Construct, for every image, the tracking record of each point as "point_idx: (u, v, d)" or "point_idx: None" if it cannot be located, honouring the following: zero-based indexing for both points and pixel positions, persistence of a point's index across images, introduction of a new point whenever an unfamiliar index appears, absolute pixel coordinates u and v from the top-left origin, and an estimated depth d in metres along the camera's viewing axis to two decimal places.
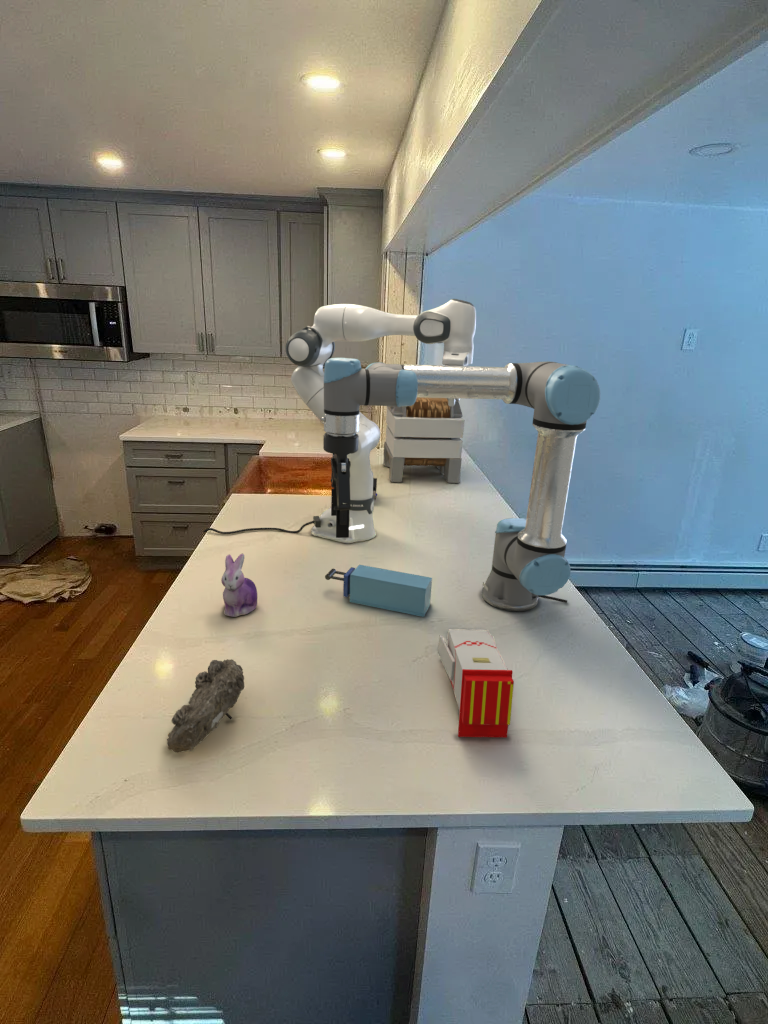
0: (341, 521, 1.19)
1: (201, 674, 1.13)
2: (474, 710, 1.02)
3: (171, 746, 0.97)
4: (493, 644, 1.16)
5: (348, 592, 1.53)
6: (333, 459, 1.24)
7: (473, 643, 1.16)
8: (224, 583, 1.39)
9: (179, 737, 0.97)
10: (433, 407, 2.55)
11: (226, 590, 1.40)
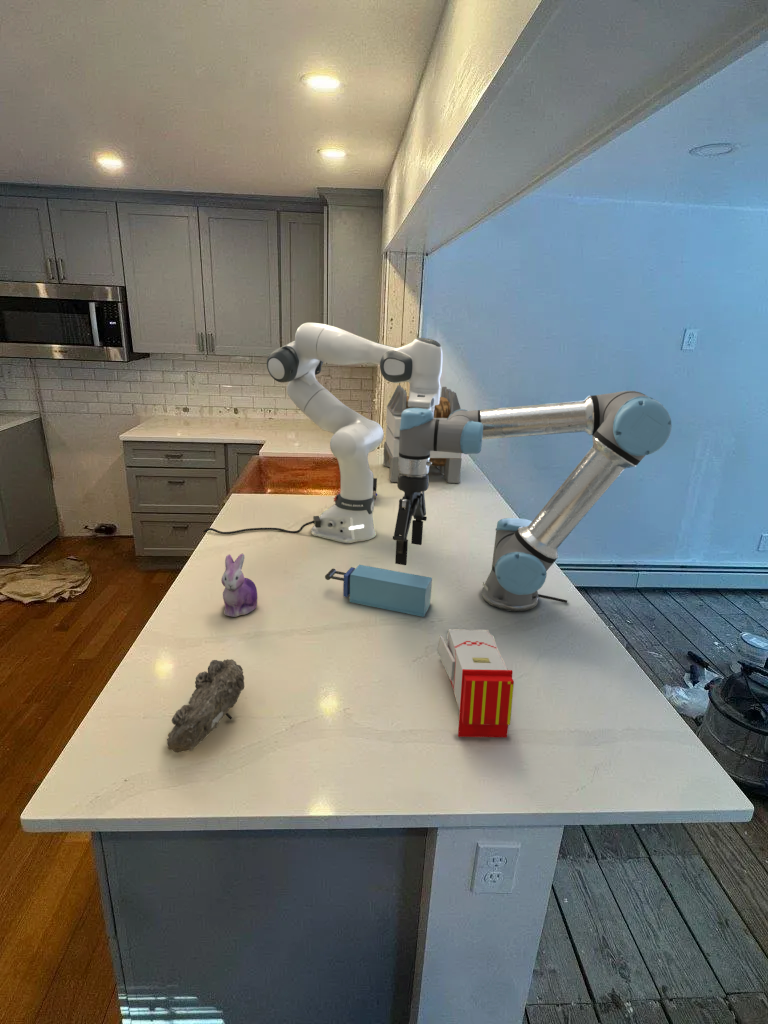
0: None
1: (201, 674, 1.13)
2: (474, 710, 1.02)
3: (171, 746, 0.97)
4: (493, 644, 1.16)
5: (348, 592, 1.53)
6: None
7: (473, 643, 1.16)
8: (224, 583, 1.39)
9: (179, 737, 0.97)
10: None
11: (226, 590, 1.40)
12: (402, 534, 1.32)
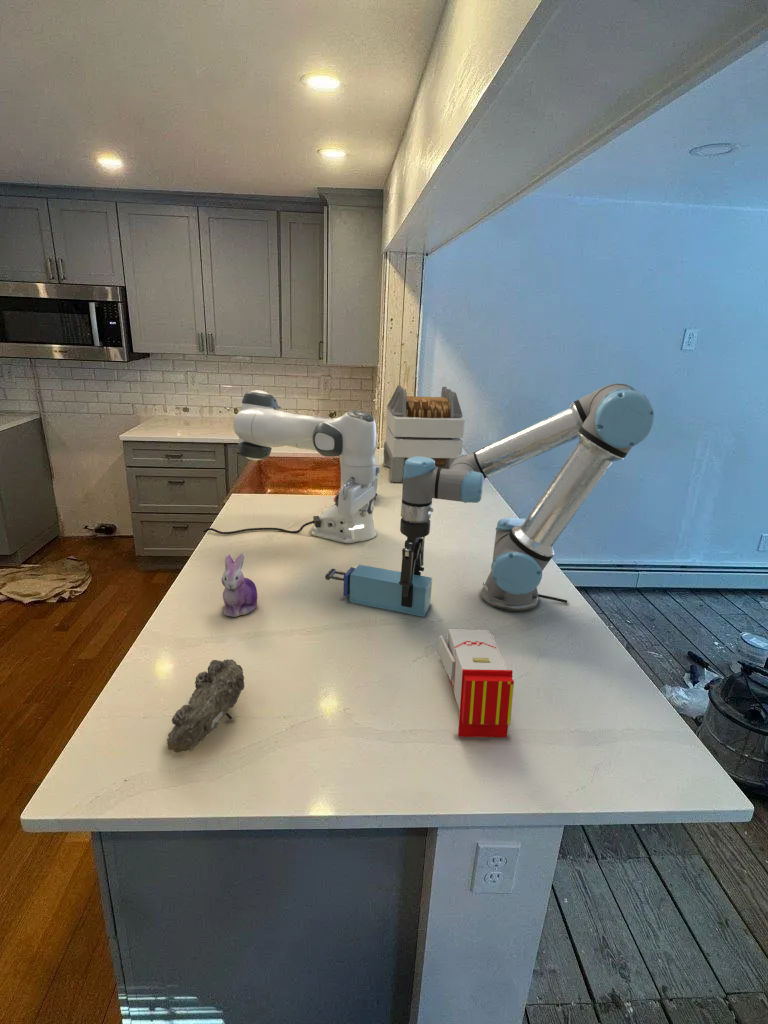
0: None
1: (201, 674, 1.13)
2: (474, 710, 1.02)
3: (171, 746, 0.97)
4: (493, 644, 1.16)
5: (348, 592, 1.53)
6: None
7: (473, 643, 1.16)
8: (224, 583, 1.39)
9: (179, 737, 0.97)
10: (433, 407, 2.55)
11: (226, 590, 1.40)
12: (408, 581, 1.41)
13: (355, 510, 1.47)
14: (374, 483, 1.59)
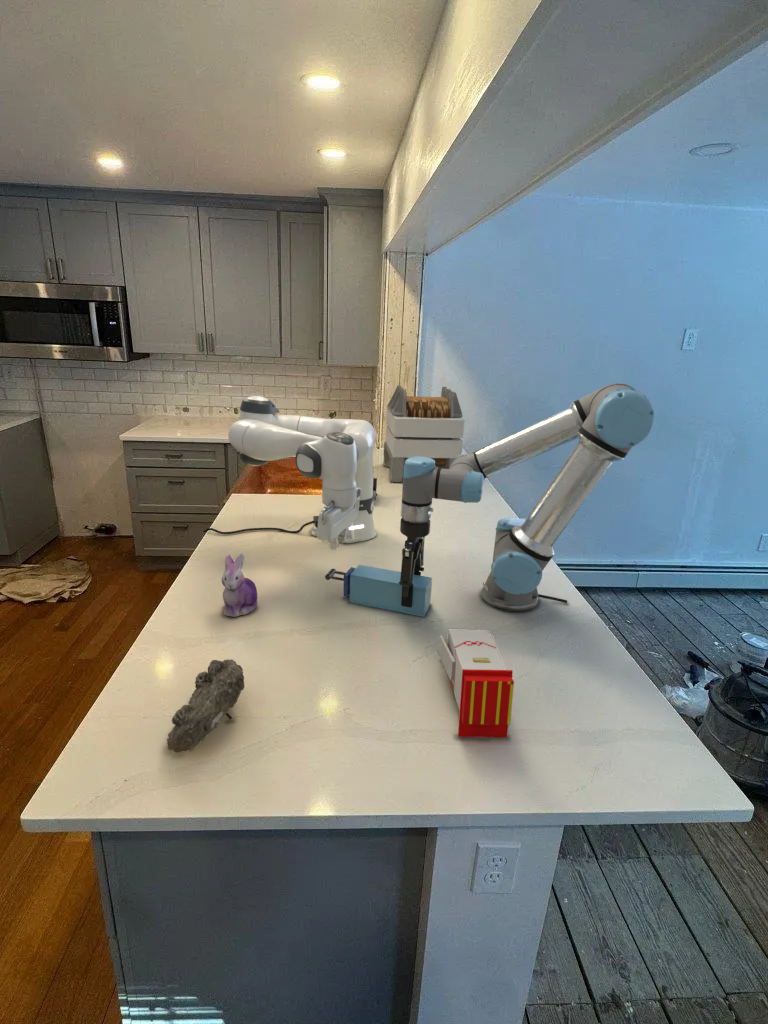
0: None
1: (201, 674, 1.13)
2: (474, 710, 1.02)
3: (171, 746, 0.97)
4: (493, 644, 1.16)
5: (348, 592, 1.53)
6: None
7: (473, 643, 1.16)
8: (224, 583, 1.39)
9: (179, 737, 0.97)
10: (433, 407, 2.55)
11: (226, 590, 1.40)
12: (408, 581, 1.41)
13: (335, 534, 1.44)
14: (356, 505, 1.55)
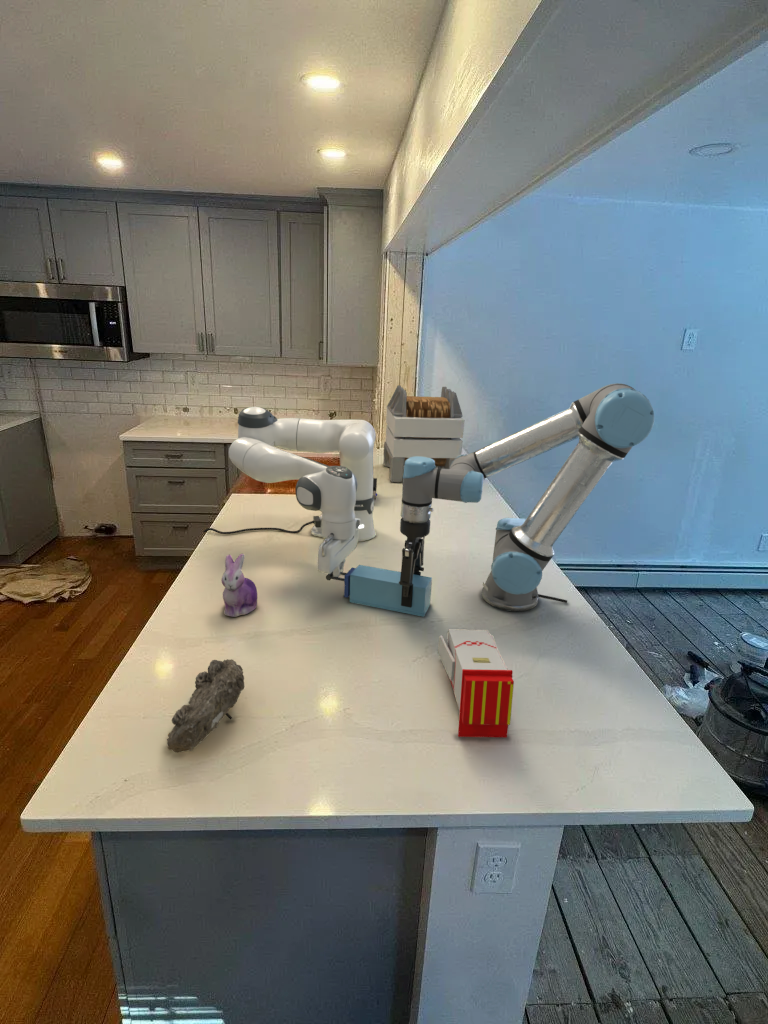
0: None
1: (201, 674, 1.13)
2: (474, 710, 1.02)
3: (171, 746, 0.97)
4: (493, 644, 1.16)
5: (349, 592, 1.53)
6: None
7: (473, 643, 1.16)
8: (224, 583, 1.39)
9: (179, 737, 0.97)
10: (433, 407, 2.55)
11: (226, 590, 1.40)
12: (408, 581, 1.41)
13: (335, 566, 1.47)
14: (355, 535, 1.58)
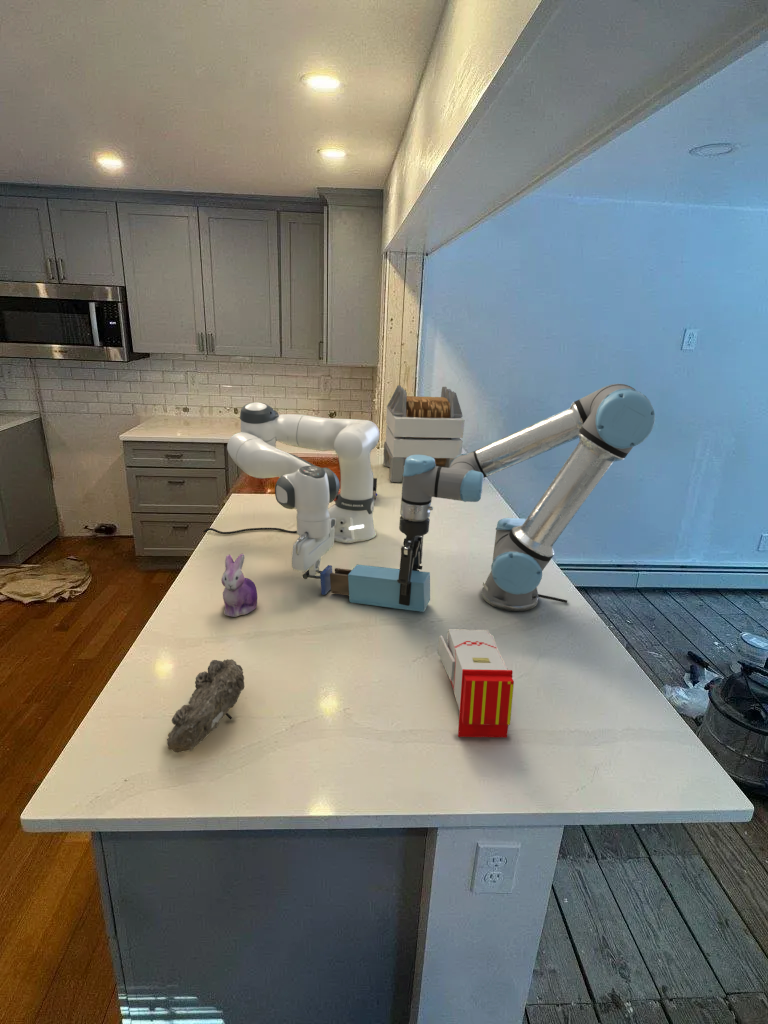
0: None
1: (201, 674, 1.13)
2: (474, 710, 1.02)
3: (171, 746, 0.97)
4: (493, 644, 1.16)
5: (326, 590, 1.55)
6: None
7: (473, 643, 1.16)
8: (224, 583, 1.39)
9: (179, 737, 0.97)
10: (433, 407, 2.55)
11: (226, 590, 1.40)
12: (406, 579, 1.41)
13: (310, 564, 1.49)
14: (331, 534, 1.60)
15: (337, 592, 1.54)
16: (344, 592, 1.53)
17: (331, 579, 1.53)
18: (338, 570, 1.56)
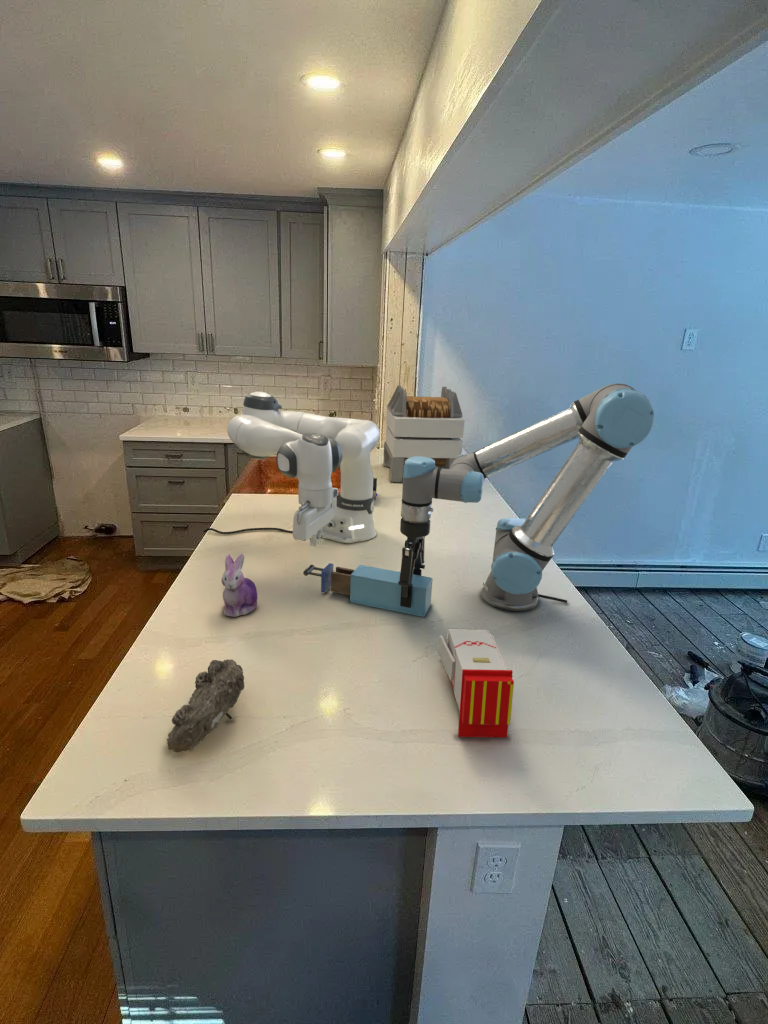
0: None
1: (201, 674, 1.13)
2: (474, 710, 1.02)
3: (171, 746, 0.97)
4: (493, 644, 1.16)
5: (326, 588, 1.55)
6: None
7: (473, 643, 1.16)
8: (224, 583, 1.39)
9: (179, 737, 0.97)
10: (433, 407, 2.55)
11: (226, 590, 1.40)
12: (407, 581, 1.40)
13: (311, 534, 1.46)
14: (333, 505, 1.58)
15: (337, 591, 1.54)
16: (344, 591, 1.53)
17: (332, 578, 1.53)
18: (339, 569, 1.56)
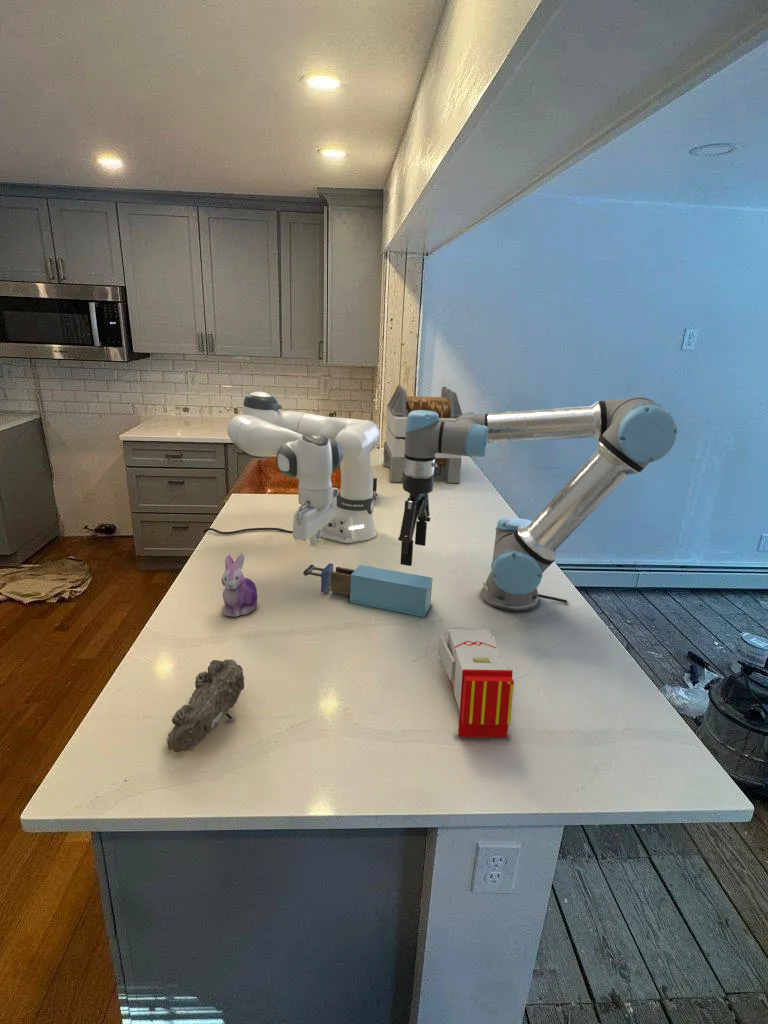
0: None
1: (201, 674, 1.13)
2: (474, 710, 1.02)
3: (171, 746, 0.97)
4: (493, 644, 1.16)
5: (326, 588, 1.55)
6: None
7: (473, 643, 1.16)
8: (224, 583, 1.39)
9: (179, 737, 0.97)
10: (433, 407, 2.55)
11: (226, 590, 1.40)
12: (408, 535, 1.34)
13: (311, 534, 1.46)
14: (333, 505, 1.58)
15: (337, 591, 1.54)
16: (344, 591, 1.53)
17: (332, 578, 1.53)
18: (339, 569, 1.56)
